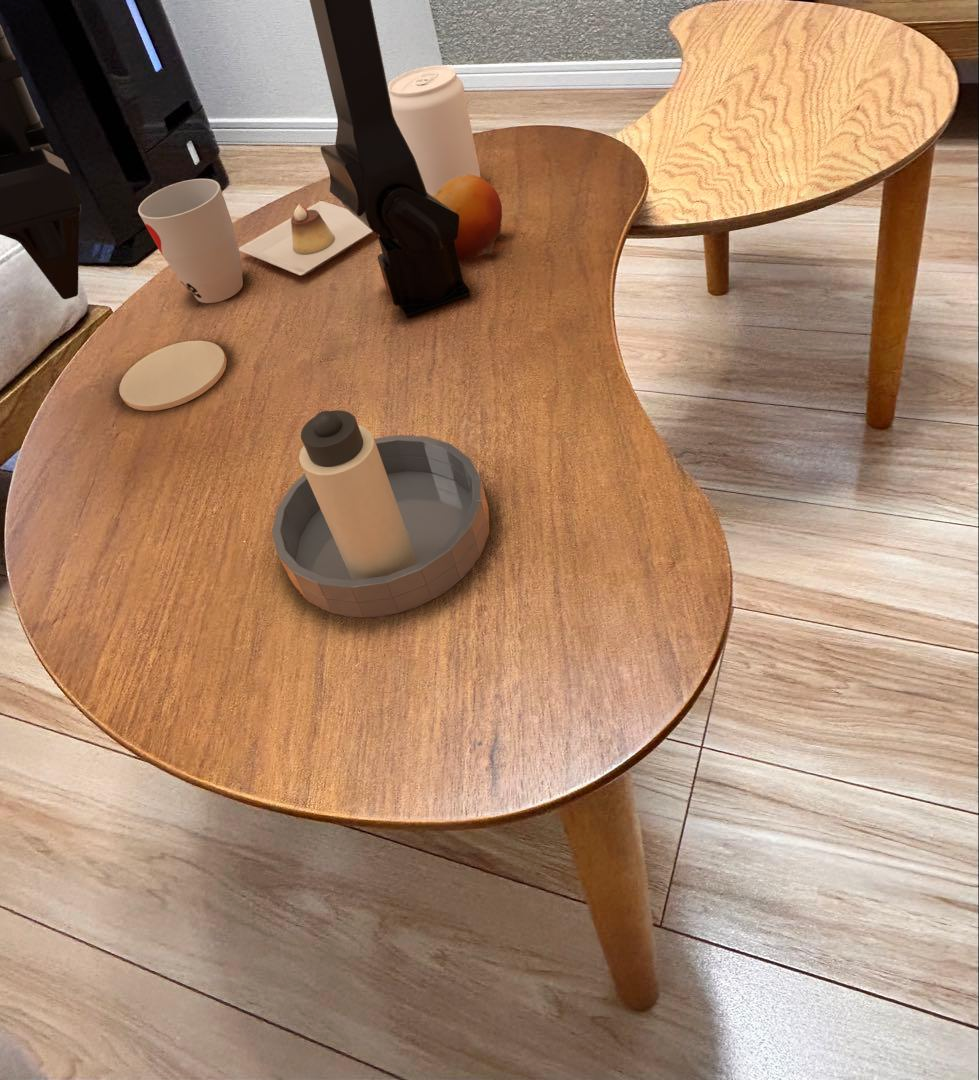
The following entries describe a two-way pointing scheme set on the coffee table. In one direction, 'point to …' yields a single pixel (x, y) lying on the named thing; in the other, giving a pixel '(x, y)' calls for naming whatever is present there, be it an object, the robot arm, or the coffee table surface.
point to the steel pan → (428, 514)
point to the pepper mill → (355, 495)
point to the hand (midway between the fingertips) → (61, 274)
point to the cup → (196, 237)
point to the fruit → (473, 214)
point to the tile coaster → (173, 375)
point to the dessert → (309, 238)
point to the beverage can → (435, 124)
